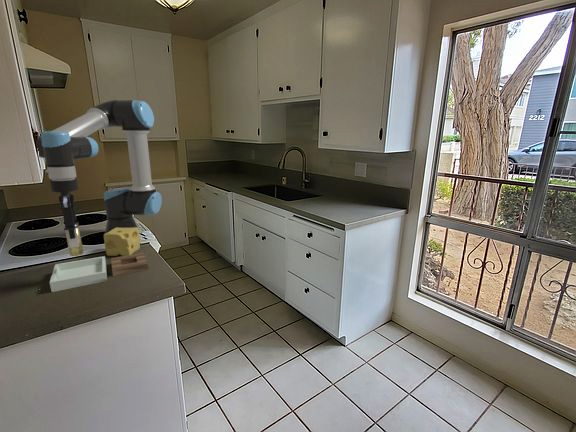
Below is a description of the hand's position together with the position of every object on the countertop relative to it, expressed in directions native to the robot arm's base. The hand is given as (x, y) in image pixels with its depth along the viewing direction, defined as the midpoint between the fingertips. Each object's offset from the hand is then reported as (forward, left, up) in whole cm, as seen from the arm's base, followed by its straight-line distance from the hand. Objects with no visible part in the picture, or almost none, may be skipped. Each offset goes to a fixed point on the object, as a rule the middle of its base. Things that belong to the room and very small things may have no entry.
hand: (75, 244), depth 108 cm
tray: (0, 0, -13) cm, 13 cm away
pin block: (-1, +16, -13) cm, 21 cm away
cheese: (-19, +15, -13) cm, 28 cm away
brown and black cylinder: (0, 0, -4) cm, 4 cm away
